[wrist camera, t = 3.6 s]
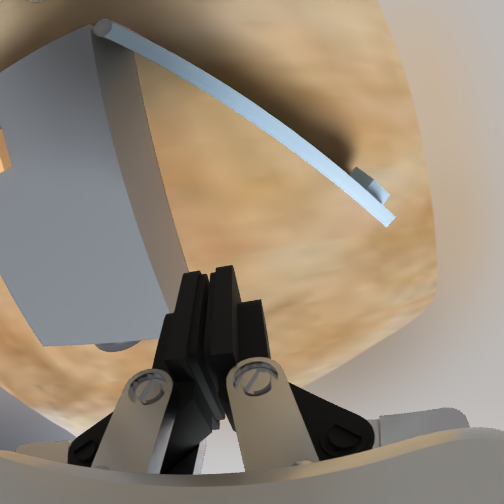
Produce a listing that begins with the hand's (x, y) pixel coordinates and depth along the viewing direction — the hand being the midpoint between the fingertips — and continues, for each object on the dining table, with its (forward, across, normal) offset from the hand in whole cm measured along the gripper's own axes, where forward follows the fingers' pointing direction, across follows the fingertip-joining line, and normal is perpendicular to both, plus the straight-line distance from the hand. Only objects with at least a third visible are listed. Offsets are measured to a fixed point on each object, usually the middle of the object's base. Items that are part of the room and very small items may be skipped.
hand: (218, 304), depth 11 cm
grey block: (+13, +10, -3) cm, 17 cm away
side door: (+13, -3, -6) cm, 14 cm away
